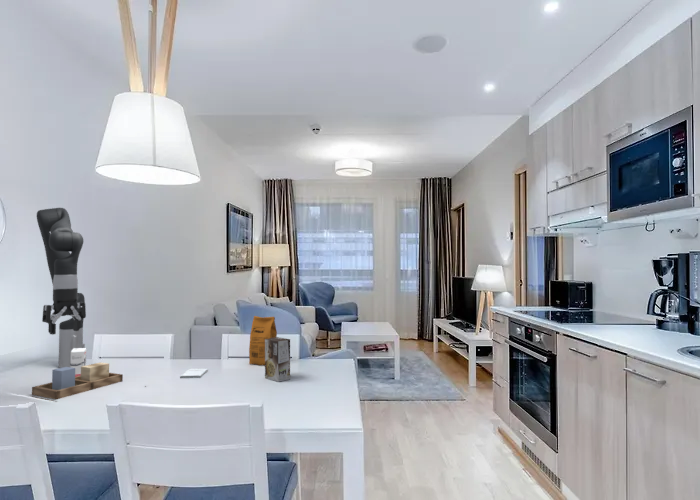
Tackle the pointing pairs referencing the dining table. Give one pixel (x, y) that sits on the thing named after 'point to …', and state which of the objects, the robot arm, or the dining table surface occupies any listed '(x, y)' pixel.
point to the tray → (74, 387)
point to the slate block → (63, 378)
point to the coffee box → (277, 359)
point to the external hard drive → (194, 373)
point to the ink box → (78, 360)
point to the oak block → (95, 371)
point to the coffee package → (260, 338)
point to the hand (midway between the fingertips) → (64, 332)
